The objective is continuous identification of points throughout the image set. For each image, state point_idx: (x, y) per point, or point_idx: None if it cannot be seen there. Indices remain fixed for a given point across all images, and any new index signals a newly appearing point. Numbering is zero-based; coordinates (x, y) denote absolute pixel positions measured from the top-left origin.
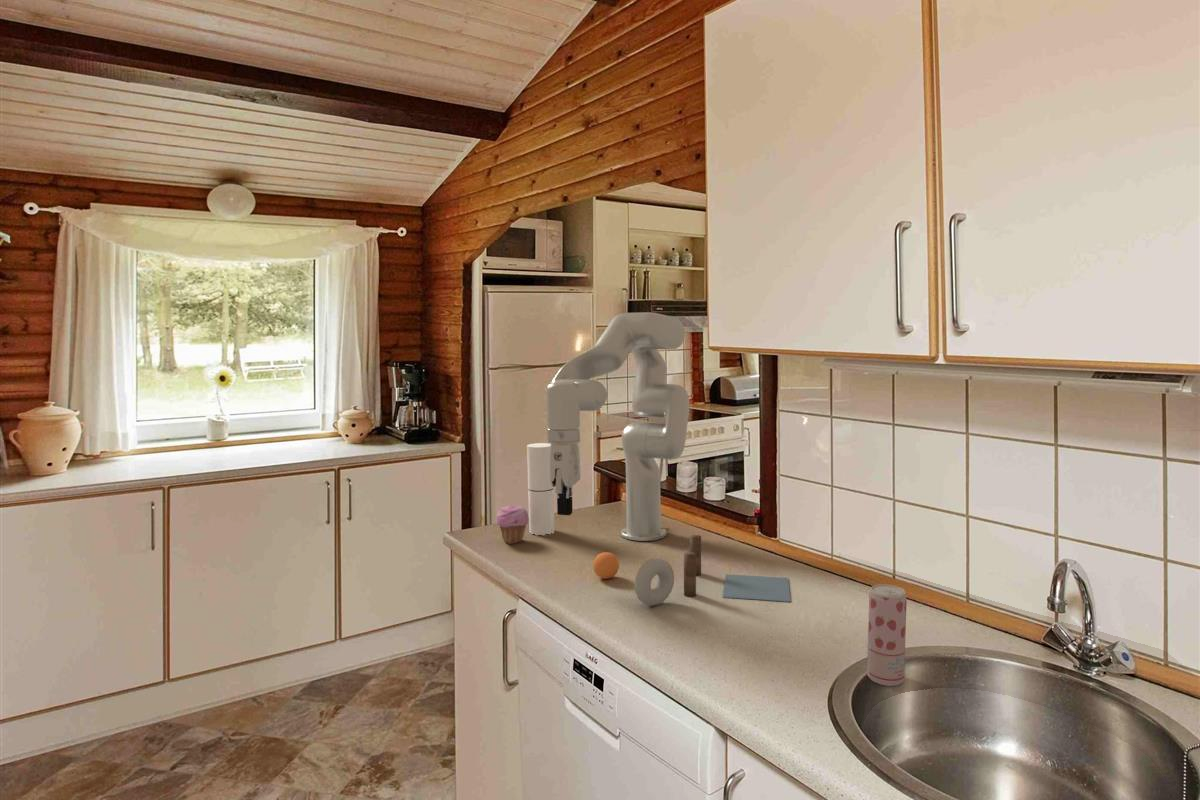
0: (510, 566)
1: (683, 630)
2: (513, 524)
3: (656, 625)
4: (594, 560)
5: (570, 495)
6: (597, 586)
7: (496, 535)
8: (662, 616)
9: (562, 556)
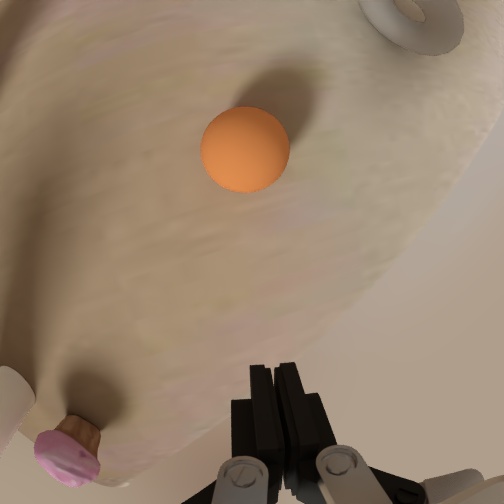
0: (217, 404)
1: None
2: (89, 454)
3: None
4: (261, 185)
5: (262, 466)
6: (311, 162)
7: None
8: None
9: (110, 321)
